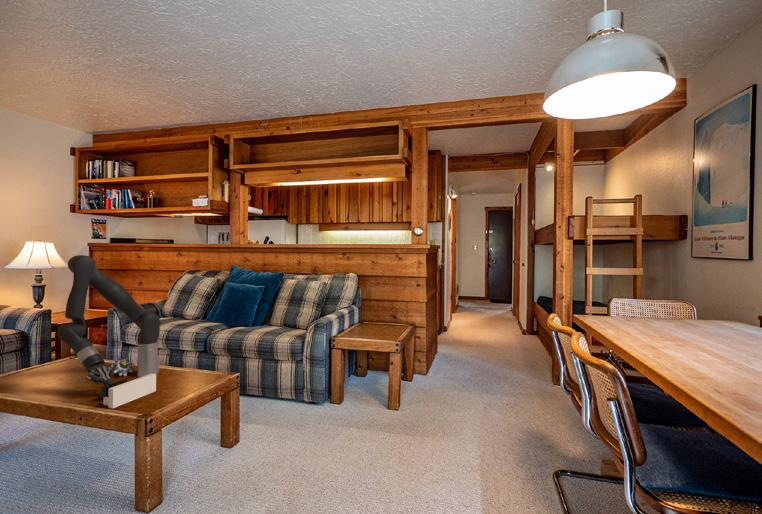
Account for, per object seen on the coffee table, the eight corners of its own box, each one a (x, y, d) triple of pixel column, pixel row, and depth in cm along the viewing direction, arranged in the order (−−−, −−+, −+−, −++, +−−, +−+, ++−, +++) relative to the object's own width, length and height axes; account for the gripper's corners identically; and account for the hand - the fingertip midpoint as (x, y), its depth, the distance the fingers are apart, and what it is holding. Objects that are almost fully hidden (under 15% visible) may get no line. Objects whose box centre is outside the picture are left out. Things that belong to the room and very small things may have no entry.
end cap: (121, 392, 178) (121, 378, 178) (133, 394, 176) (133, 379, 176) (100, 400, 168) (100, 385, 169) (112, 402, 166) (112, 386, 167)
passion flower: (124, 386, 203) (115, 372, 196) (109, 380, 206) (99, 366, 199) (142, 369, 211) (133, 355, 204) (127, 364, 215) (118, 350, 208)
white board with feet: (143, 389, 183) (143, 372, 183) (156, 390, 181) (156, 373, 181) (98, 406, 162) (99, 387, 162) (112, 408, 160) (113, 389, 160)
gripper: (80, 356, 170) (101, 387, 167) (108, 349, 183) (128, 378, 180) (71, 367, 171) (92, 398, 168) (99, 360, 184) (119, 388, 181)
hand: (111, 387), depth 174 cm, fingers closed
